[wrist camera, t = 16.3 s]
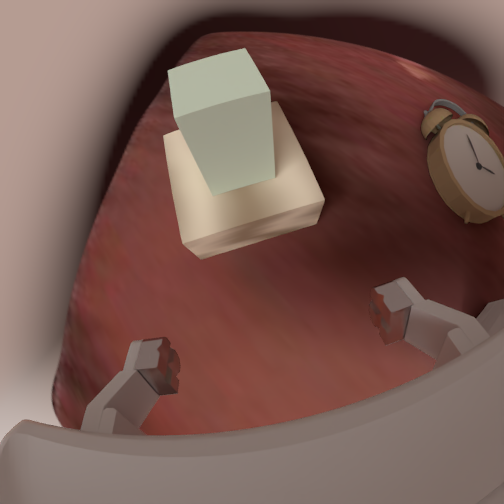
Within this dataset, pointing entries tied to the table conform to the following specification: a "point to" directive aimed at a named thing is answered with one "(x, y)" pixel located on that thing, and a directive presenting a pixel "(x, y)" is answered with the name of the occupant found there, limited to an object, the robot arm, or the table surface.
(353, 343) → the table surface
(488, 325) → the skincare box
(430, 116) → the alarm clock
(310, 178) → the birch block
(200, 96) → the sage block
